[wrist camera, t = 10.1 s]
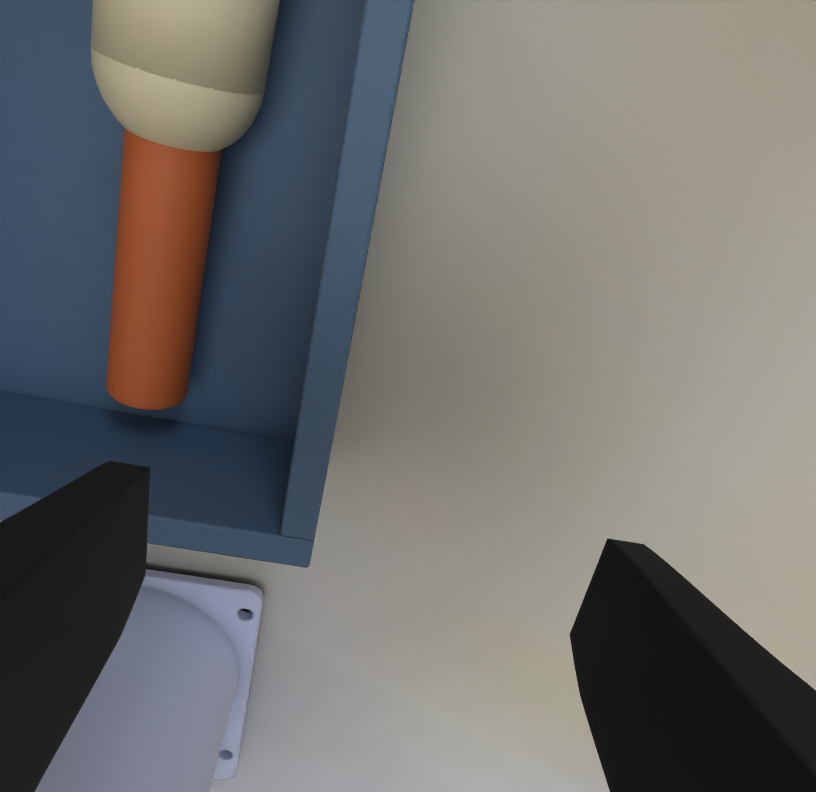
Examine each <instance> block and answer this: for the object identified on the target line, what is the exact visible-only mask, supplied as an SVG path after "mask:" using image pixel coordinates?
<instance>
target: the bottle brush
mask: <svg viewBox="0 0 816 792" xmlns="http://www.w3.org/2000/svg"><path fill="white" fill-rule="evenodd" d="M279 2H280V0H93V5H92V27H91V62H92V68H93V72H94V76H95V80H96V84H97V86H98V88H99V91H100V93H101V95H102V97H103V100H104V101H105V103H106V104H107V106H108V107H109V109H110V110H111V112H112V113H113V115H114V116H115V118H116V119H117V120H118V121H119V122H120V123H121V124H122V125H123V126H124V138H123V152H122V166H121V180H120V194H119V208H118V222H117V236H116V250H115V264H114V278H113V292H112V306H111V320H110V334H109V348H108V362H107V376H106V389H107V391H108V393H109V394H110V396H111V397H112V398H113V399H115V400H116V401H118V402H120V403H121V404H124V405H126V406H129V407H133V408H137V409H144V410H159V409H166V408H170V407H173V406H175V405H177V404H179V403H180V402H182V401H183V400H184V398H185V397H186V395H187V391H188V384H189V377H190V370H191V363H192V356H193V349H194V342H195V335H196V327H197V320H198V313H199V306H200V299H201V292H202V285H203V278H204V271H205V264H206V257H207V250H208V243H209V236H210V229H211V222H212V215H213V207H214V200H215V193H216V186H217V179H218V172H219V165H220V158H221V151H222V149H223V148H225V147H227V146H230V145H232V144H233V143H234V142H235V141H237V140H238V139H239V138H240V137H242V136H243V135H244V133H245V132H246V131H247V130H248V128H249V127H250V126H251V125H252V123H253V121H254V119H255V117H256V115H257V113H258V111H259V109H260V107H261V103H262V100H263V96H264V92H265V87H266V81H267V75H268V69H269V63H270V57H271V51H272V45H273V39H274V33H275V27H276V21H277V14H278V8H279Z"/></svg>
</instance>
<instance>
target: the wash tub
mask: <svg viewBox="0 0 816 792" xmlns="http://www.w3.org/2000/svg"><path fill="white" fill-rule="evenodd" d="M413 4H414V0H280V2H279V8H278V14H277V21H276V27H275V33H274V39H273V45H272V51H271V57H270V63H269V69H268V75H267V81H266V87H265V92H264V96H263V100H262V103H261V107H260V109H259V111H258V113H257V115H256V117H255V119H254V121H253V123H252V125H251V126H250V127H249V128H248V130H247V131H246V132H245V133H244V135H243V136H242V137H240V138H239V139H238V140H237V141H235V142H234V143H233V144H232V145H230V146H227V147H225V148H223V149H222V151H221V158H220V165H219V172H218V179H217V186H216V193H215V200H214V207H213V215H212V222H211V229H210V236H209V243H208V250H207V257H206V264H205V271H204V278H203V285H202V292H201V299H200V306H199V313H198V320H197V327H196V335H195V342H194V349H193V356H192V363H191V370H190V377H189V384H188V391H187V395H186V397H185V398H184V400H183V401H182V402H180V403H179V404H177V405H175V406H173V407H170V408H166V409H159V410H144V409H137V408H133V407H129V406H126V405H124V404H121V403H120V402H118V401H116V400H115V399H113V398H112V397H111V396H110V394H109V393H108V391H107V389H106V376H107V362H108V348H109V334H110V320H111V306H112V292H113V278H114V264H115V250H116V236H117V222H118V208H119V194H120V180H121V166H122V152H123V138H124V126H123V125H122V124H121V123H120V122H119V121H118V120H117V119H116V118H115V116H114V115H113V113H112V112H111V110H110V109H109V107H108V106H107V104H106V103H105V101H104V100H103V97H102V95H101V93H100V91H99V88H98V86H97V84H96V80H95V76H94V72H93V68H92V62H91V27H92V5H93V0H0V521H3V520H5V519H7V518H9V517H10V516H12V515H14V514H16V513H18V512H19V511H21V510H23V509H25V508H26V507H28V506H30V505H32V504H34V503H35V502H37V501H39V500H41V499H42V498H44V497H46V496H48V495H49V494H51V493H53V492H55V491H56V490H58V489H60V488H61V487H63V486H65V485H67V484H68V483H70V482H72V481H73V480H75V479H77V478H79V477H80V476H82V475H84V474H85V473H87V472H89V471H91V470H92V469H94V468H96V467H98V466H100V465H102V464H104V463H105V462H107V461H114V462H120V463H127V464H133V465H140V466H146V467H150V486H149V509H148V531H147V543H150V544H156V545H163V546H169V547H176V548H182V549H189V550H195V551H202V552H208V553H215V554H221V555H228V556H234V557H241V558H247V559H254V560H260V561H267V562H273V563H280V564H286V565H293V566H299V567H308V566H309V565H310V560H311V554H312V549H313V544H314V538H315V533H316V527H317V522H318V517H319V511H320V506H321V500H322V495H323V490H324V484H325V479H326V474H327V468H328V463H329V457H330V452H331V447H332V441H333V436H334V430H335V425H336V420H337V414H338V409H339V403H340V398H341V393H342V387H343V382H344V376H345V371H346V366H347V360H348V355H349V349H350V344H351V339H352V333H353V328H354V322H355V317H356V312H357V306H358V301H359V295H360V290H361V285H362V279H363V274H364V268H365V263H366V258H367V252H368V247H369V242H370V236H371V231H372V225H373V220H374V215H375V209H376V204H377V198H378V193H379V188H380V182H381V177H382V171H383V166H384V161H385V155H386V150H387V144H388V139H389V134H390V128H391V123H392V117H393V112H394V107H395V101H396V96H397V90H398V85H399V80H400V74H401V69H402V63H403V58H404V53H405V47H406V42H407V36H408V31H409V26H410V20H411V15H412V10H413Z"/></svg>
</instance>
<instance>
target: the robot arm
mask: <svg viewBox="0 0 816 792" xmlns="http://www.w3.org/2000/svg"><path fill="white" fill-rule="evenodd" d="M149 486H150V467H146V466H140V465H133V464H127V463H120V462H114V461H107V462H105V463H104V464H102V465H100V466H98V467H96V468H94V469H92V470H91V471H89V472H87V473H85V474H84V475H82V476H80V477H79V478H77V479H75V480H73V481H72V482H70V483H68V484H67V485H65V486H63V487H61V488H60V489H58V490H56V491H55V492H53V493H51V494H49V495H48V496H46V497H44V498H42V499H41V500H39V501H37V502H35V503H34V504H32V505H30V506H28V507H26V508H25V509H23V510H21V511H19V512H18V513H16V514H14V515H12V516H10V517H9V518H7V519H5V520H3V521H2V522H0V792H209V790H210V786H211V782H212V779H216V780H228V779H231V778H233V777H234V776H235V774H236V771H237V767H238V761H239V755H240V748H241V742H242V735H243V729H244V722H245V716H246V709H247V703H248V696H249V690H250V683H251V677H252V670H253V664H254V657H255V651H256V644H257V638H258V631H259V625H260V618H261V612H262V605H263V599H264V598H263V593H262V591H261V590H260V589H259V588H258V587H256V586H253V585H250V584H243V583H237V582H230V581H223V580H217V579H210V578H203V577H197V576H190V575H183V574H177V573H170V572H163V571H157V570H150V569H146V554H147V531H148V509H149ZM241 609H248V610H250V611H251V612H244V611H242V610H241ZM570 639H571V645H572V652H573V658H574V665H575V670H576V676H577V681H578V686H579V691H580V696H581V700H582V703H583V706H584V710H585V713H586V716H587V720H588V723H589V726H590V729H591V733H592V736H593V739H594V742H595V746H596V749H597V752H598V755H599V758H600V761H601V765H602V768H603V771H604V774H605V777H606V780H607V783H608V787H609V790H610V792H816V690H814V689H813V688H812V687H811V686H810V685H808V684H807V683H806V682H805V681H803V680H802V679H801V678H800V677H798V676H797V675H796V674H795V673H793V672H792V671H791V670H790V669H788V668H787V667H786V666H785V665H784V664H782V663H781V662H780V661H779V660H778V659H776V658H775V657H774V656H773V655H772V654H770V653H769V652H768V651H767V650H766V649H765V648H763V647H762V646H761V645H760V644H759V643H758V642H756V641H755V640H754V639H753V638H752V637H751V636H749V635H748V634H747V633H746V632H745V631H744V630H743V629H741V628H740V627H739V626H738V625H737V624H736V623H735V622H733V621H732V620H731V619H730V618H729V617H728V616H727V615H726V614H724V613H723V612H722V611H721V610H720V609H719V608H718V607H717V606H715V605H714V604H713V603H712V602H711V601H710V600H709V599H708V598H706V597H705V596H704V595H703V594H702V593H701V592H700V591H699V590H698V589H696V588H695V587H694V586H693V585H692V584H691V583H690V582H689V581H687V580H686V579H685V578H684V577H683V576H682V575H681V574H679V573H678V572H677V571H676V570H675V569H674V568H673V567H671V566H670V565H669V564H668V563H667V562H666V561H664V560H663V559H662V558H661V557H660V556H658V555H657V554H656V553H655V552H653V551H652V550H651V549H649V548H648V547H647V546H645V545H644V544H639V543H633V542H626V541H620V540H613V539H607V541H606V544H605V546H604V549H603V551H602V554H601V556H600V559H599V562H598V564H597V567H596V569H595V572H594V574H593V577H592V579H591V582H590V584H589V587H588V589H587V592H586V595H585V597H584V600H583V602H582V605H581V607H580V610H579V612H578V615H577V617H576V620H575V623H574V625H573V628H572V630H571V633H570Z"/></svg>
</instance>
